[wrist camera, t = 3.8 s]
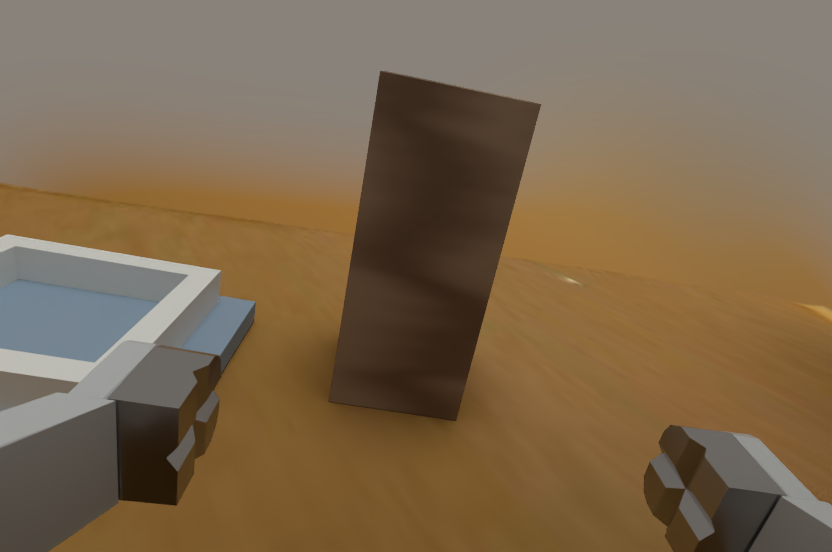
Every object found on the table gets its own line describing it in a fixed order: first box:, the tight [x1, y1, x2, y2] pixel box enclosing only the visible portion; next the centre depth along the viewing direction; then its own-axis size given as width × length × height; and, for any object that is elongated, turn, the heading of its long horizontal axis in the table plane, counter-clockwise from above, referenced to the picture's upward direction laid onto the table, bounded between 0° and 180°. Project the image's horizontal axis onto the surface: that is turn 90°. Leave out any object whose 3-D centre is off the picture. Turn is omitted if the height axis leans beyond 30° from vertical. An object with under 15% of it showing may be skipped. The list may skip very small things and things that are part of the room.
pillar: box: [329, 71, 541, 421], centre depth 20 cm, size 5×5×12 cm
